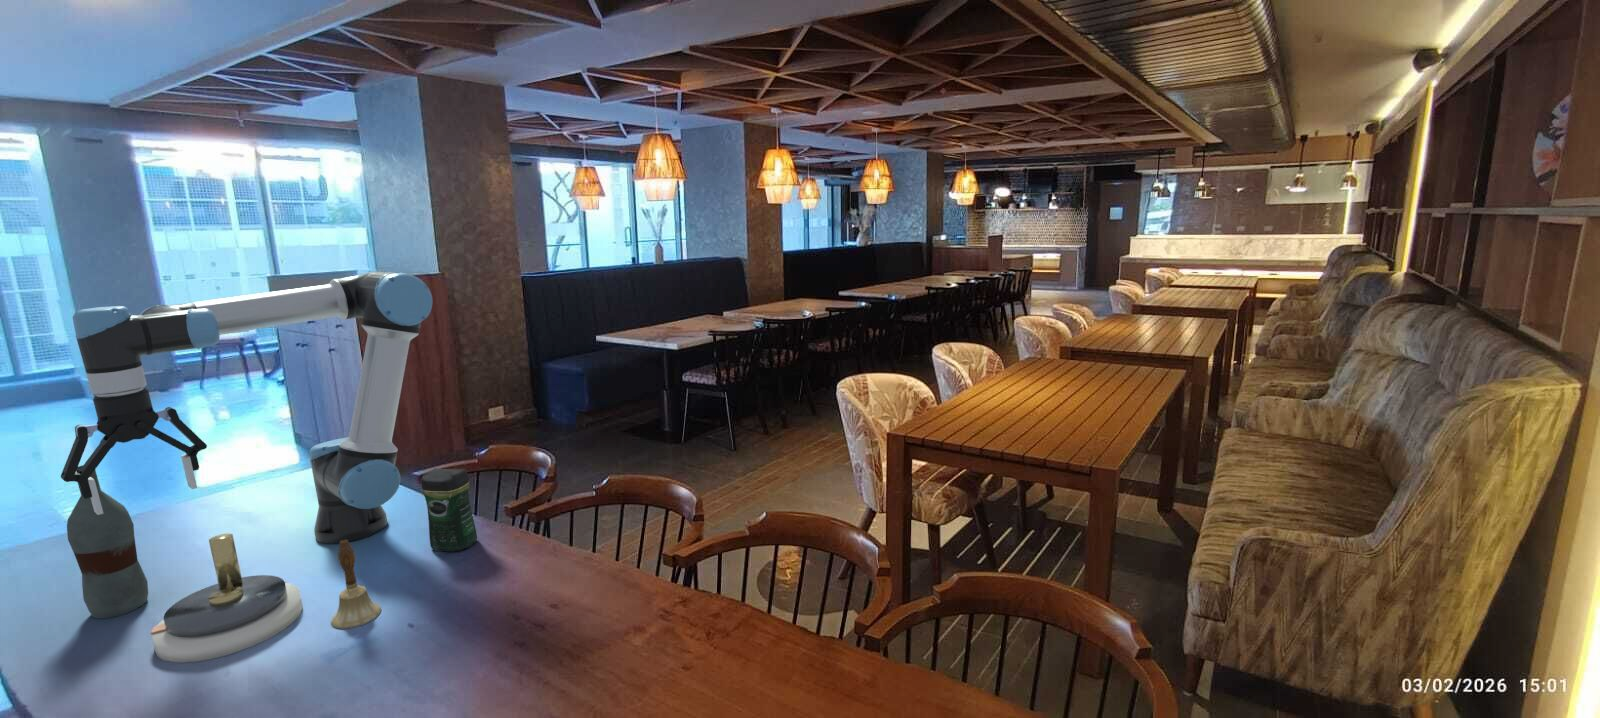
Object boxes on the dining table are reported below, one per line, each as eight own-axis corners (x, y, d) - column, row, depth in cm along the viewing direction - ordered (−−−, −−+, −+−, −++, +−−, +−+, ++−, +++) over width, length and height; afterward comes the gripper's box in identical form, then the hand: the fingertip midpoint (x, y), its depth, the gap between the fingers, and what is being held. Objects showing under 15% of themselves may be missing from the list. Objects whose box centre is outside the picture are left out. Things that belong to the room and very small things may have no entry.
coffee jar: (483, 538, 169) (473, 464, 165) (462, 554, 161) (451, 477, 157) (447, 536, 170) (436, 462, 167) (424, 551, 163) (413, 475, 159)
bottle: (96, 625, 136) (58, 478, 130) (81, 612, 141) (43, 470, 135) (158, 602, 144) (125, 462, 138) (142, 590, 149) (109, 455, 143)
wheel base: (304, 584, 150) (301, 568, 149) (300, 634, 132) (296, 617, 131) (168, 618, 138) (164, 601, 138) (142, 678, 120) (138, 660, 119)
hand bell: (391, 608, 140) (379, 533, 136) (353, 632, 132) (339, 553, 129) (360, 602, 142) (347, 528, 139) (320, 625, 135) (306, 547, 131)
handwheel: (284, 615, 132) (272, 556, 129) (156, 649, 122) (140, 586, 120) (289, 575, 146) (278, 521, 144) (175, 602, 137) (162, 545, 134)
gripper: (198, 374, 142) (221, 474, 147) (17, 405, 123) (50, 519, 127) (211, 378, 138) (234, 481, 142) (25, 411, 118) (59, 529, 123)
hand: (147, 499), depth 135 cm, fingers open, 13 cm apart
